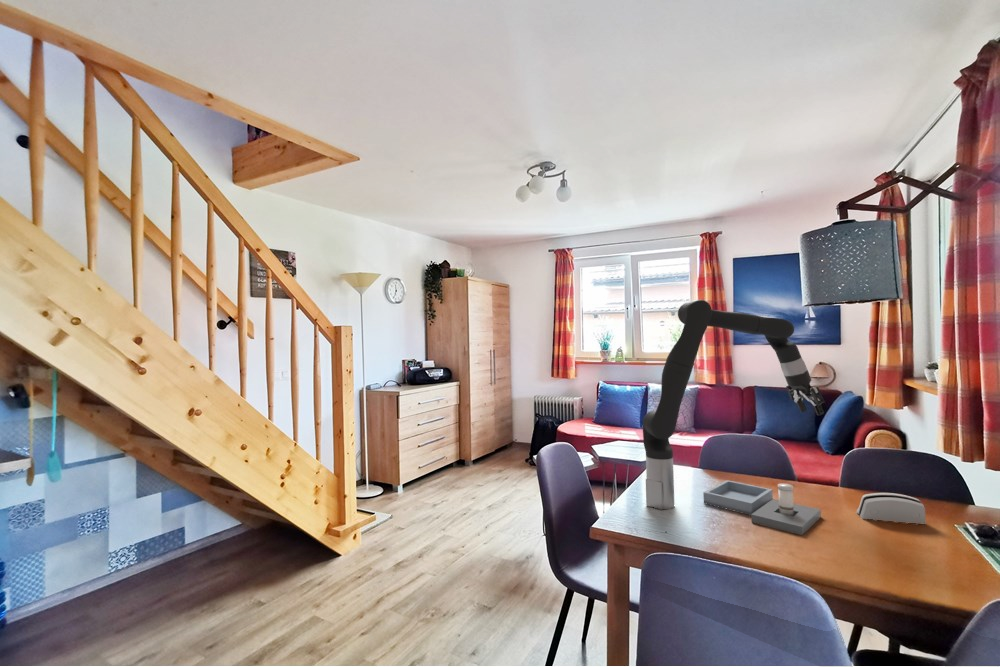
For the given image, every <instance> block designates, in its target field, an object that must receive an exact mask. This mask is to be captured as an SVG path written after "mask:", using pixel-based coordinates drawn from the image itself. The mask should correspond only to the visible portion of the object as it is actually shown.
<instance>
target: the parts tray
mask: <svg viewBox="0 0 1000 667" xmlns="http://www.w3.org/2000/svg"><path fill="white" fill-rule="evenodd" d="M773 493H774V492H773V488H766V487H763V486H757V485H753V484H748V483H742V482H738V481H733V480H728V479H726V480H724V481H722V482H720V483H719V484H717V485H715V486H713V487H710V488H709V489H707V490H705V491H703V493H702V494H703V504H704V503H707V504H706V505H708V504H711V505H710V506H712V505H715V506H714V507H716V506H719V507H718V508H720V507H723V508H722V509H724V508H727V509H726V510H728V509H731V510H730V511H732V510H735V511H734V512H736V511H738V512H737V513H740V512H742V513H741V514H744V513H745V515H748V516H751V514H752V513H754V512H755V511H757V510H758V509H759V508H761V507H762V506H764V505H765V504H767V503H768V502H769V501H771V500H772V499H774V497H773V496H774V495H773Z"/></svg>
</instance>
